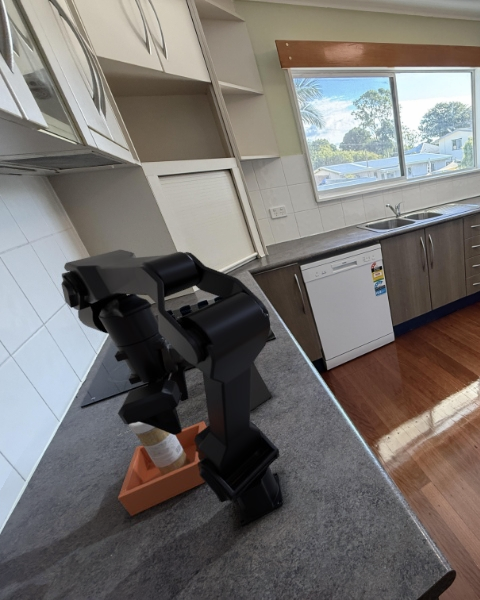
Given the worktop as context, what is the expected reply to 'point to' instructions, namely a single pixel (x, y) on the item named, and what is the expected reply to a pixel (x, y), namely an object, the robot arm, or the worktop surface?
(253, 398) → the phone stand
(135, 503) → the tub
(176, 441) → the spice jar
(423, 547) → the worktop surface
